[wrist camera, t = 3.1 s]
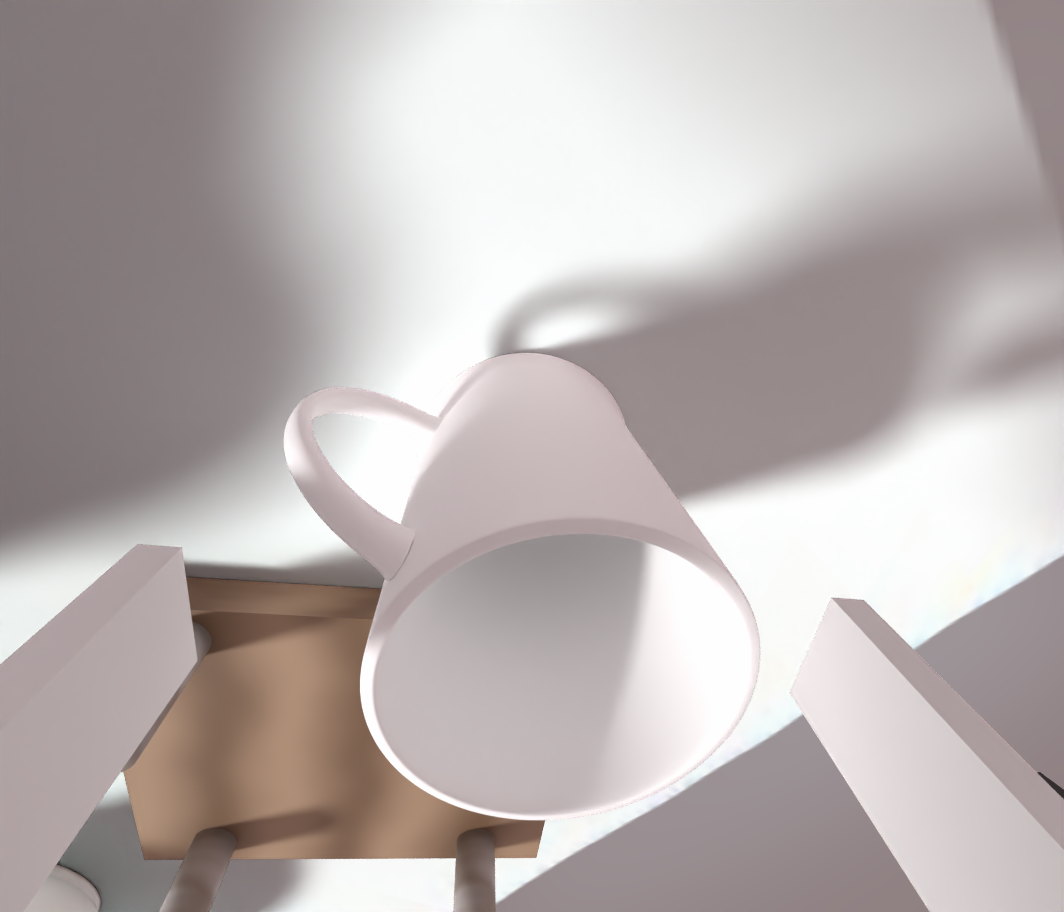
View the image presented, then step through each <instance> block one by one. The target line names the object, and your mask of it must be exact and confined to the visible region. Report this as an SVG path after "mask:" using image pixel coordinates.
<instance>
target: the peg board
mask: <svg viewBox="0 0 1064 912" xmlns="http://www.w3.org/2000/svg"><path fill="white" fill-rule="evenodd" d="M186 581H187V588H188V595H189V602H190V610H191V617H192V624H193V631H194V639H195V646H196V653H197V660H198V661H197V662H196V663H195V665H194V666H193V668H192V669H191V671H190V672H189V674H188V675H187V676H186V678H185V679H184V681H183V682H182V684H181V685H180V687H179V688H178V689H177V691H176V692H175V694H174V695H173V697H172V698H171V700H170V701H169V702H168V704H167V705H166V707H165V708H164V710H163V711H162V713H161V714H160V715H159V717H158V718H157V720H156V721H155V723H154V724H153V726H152V727H151V728H150V730H149V731H148V733H147V734H146V736H145V737H144V739H143V740H142V741H141V743H140V744H139V746H138V747H137V749H136V750H135V752H134V753H133V754H132V756H131V757H130V759H129V760H128V762H127V763H126V765H125V766H124V767H123V769H122V770H121V772H124V777H125V781H126V785H127V789H128V793H129V798H130V802H131V806H132V810H133V815H134V819H135V823H136V827H137V831H138V836H139V840H140V844H141V848H142V852H143V857H144V860H183V859H184V860H183V862H182V864H181V867H180V869H179V871H178V873H177V875H176V877H175V879H174V881H173V883H172V885H171V887H170V890H169V892H168V894H167V896H166V898H165V900H164V902H163V904H162V906H161V908H160V911H159V912H209V911H210V909H211V906H212V904H213V901H214V899H215V896H216V894H217V891H218V889H219V886H220V884H221V881H222V879H223V876H224V874H225V871H226V869H227V866H228V864H229V861H230V859H390V858H456V867H455V889H454V910H453V912H495V858H536V857H537V853H538V848H539V844H540V840H541V835H542V831H543V827H544V822H545V820H518V819H508V818H501V817H495V816H489V815H485V814H480V813H476V812H473V811H469V810H466V809H463V808H460V807H457V806H455V805H452V804H450V803H447V802H445V801H443V800H441V799H438V798H436V797H435V796H433V795H431V794H429V793H427V792H426V791H424V790H422V789H421V788H419V787H418V786H416V785H415V784H414V783H412V782H411V781H410V780H408V779H407V778H406V777H405V776H403V775H402V774H401V773H400V772H399V771H398V770H397V769H396V768H395V767H394V766H393V765H392V764H391V763H390V762H389V761H388V759H387V758H386V757H385V756H384V754H383V753H382V751H381V750H380V749H379V747H378V745H377V744H376V742H375V740H374V739H373V737H372V735H371V732H370V730H369V728H368V725H367V723H366V720H365V716H364V713H363V709H362V703H361V695H360V675H361V666H362V661H363V656H364V652H365V648H366V644H367V640H368V636H369V633H370V629H371V626H372V622H373V619H374V615H375V612H376V608H377V605H378V601H379V598H380V594H381V591H382V589H374V588H358V587H341V586H325V585H308V584H292V583H275V582H259V581H243V580H226V579H210V578H193V577H186Z"/></svg>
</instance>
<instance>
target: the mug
mask: <svg viewBox="0 0 1064 912" xmlns="http://www.w3.org/2000/svg"><path fill="white" fill-rule="evenodd" d="M334 413H341V414H352V415H358V416H363V417H367V418H371V419H374V420H377V421H380V422H383V423H386V424H389V425H391V426H394V427H396V428H398V429H400V430H402V431H404V432H406V433H408V434H410V435H411V436H413V437H414V438H416V439H417V440H418V449H417V459H418V464H417V468H416V471H415V475H414V478H413V482H412V486H411V489H410V493H409V496H408V500H407V503H406V507H405V510H404V514H403V517H402V521H401V524H399V523H397V522H395V521H393V520H391V519H389V518H388V517H386V516H384V515H383V514H381V513H380V512H378V511H377V510H376V509H374V508H373V507H372V506H370V505H369V504H368V503H367V502H365V501H364V500H363V499H362V498H361V497H360V496H359V495H357V494H356V493H355V492H354V491H353V490H352V489H351V488H350V487H349V486H348V485H347V484H346V483H345V482H344V481H343V480H342V478H341V477H340V476H339V475H338V474H337V473H336V472H335V470H334V469H333V468H332V466H331V465H330V464H329V462H328V461H327V460H326V458H325V457H324V455H323V453H322V452H321V450H320V448H319V446H318V444H317V442H316V439H315V436H314V433H313V428H312V420H313V419H314V418H316V417H318V416H321V415H326V414H334ZM284 451H285V456H286V460H287V464H288V467H289V469H290V472H291V474H292V476H293V478H294V480H295V482H296V484H297V486H298V488H299V489H300V491H301V493H302V494H303V496H304V497H305V499H306V500H307V501H308V503H309V504H310V506H311V507H312V508H313V509H314V511H315V512H316V513H317V514H318V515H319V517H320V518H321V519H322V520H323V521H324V522H325V523H326V524H327V525H328V526H329V528H330V529H331V530H332V531H333V532H334V533H335V534H337V535H338V536H339V537H340V538H341V539H342V540H343V541H344V542H345V543H346V544H347V545H349V546H350V547H351V548H352V549H353V550H355V551H356V552H357V553H358V554H359V555H361V556H362V557H363V558H364V559H366V560H367V561H368V562H369V563H370V564H371V565H373V566H374V567H375V568H376V569H377V570H378V571H379V572H380V573H381V575H382V576H383V577H384V579H385V580H384V584H383V587H382V591H381V594H380V598H379V601H378V605H377V608H376V612H375V615H374V619H373V622H372V626H371V629H370V633H369V636H368V640H367V644H366V648H365V652H364V656H363V661H362V666H361V675H360V695H361V703H362V709H363V713H364V716H365V720H366V723H367V725H368V728H369V730H370V732H371V735H372V737H373V739H374V740H375V742H376V744H377V745H378V747H379V749H380V750H381V751H382V753H383V754H384V756H385V757H386V758H387V759H388V761H389V762H390V763H391V764H392V765H393V766H394V767H395V768H396V769H397V770H398V771H399V772H400V773H401V774H402V775H403V776H405V777H406V778H407V779H408V780H410V781H411V782H412V783H414V784H415V785H416V786H418V787H419V788H421V789H422V790H424V791H426V792H427V793H429V794H431V795H433V796H435V797H436V798H438V799H441V800H443V801H445V802H447V803H450V804H452V805H455V806H457V807H460V808H463V809H466V810H469V811H473V812H476V813H480V814H485V815H489V816H495V817H501V818H508V819H518V820H558V819H569V818H576V817H583V816H588V815H593V814H598V813H602V812H606V811H610V810H613V809H617V808H620V807H623V806H626V805H629V804H632V803H634V802H637V801H639V800H642V799H644V798H646V797H649V796H651V795H653V794H655V793H657V792H659V791H661V790H663V789H665V788H667V787H668V786H670V785H672V784H674V783H675V782H677V781H678V780H680V779H682V778H683V777H685V776H686V775H687V774H689V773H690V772H692V771H693V770H694V769H696V768H697V767H698V766H699V765H701V764H702V763H703V762H704V761H705V760H706V759H708V758H709V757H710V756H711V755H712V754H713V753H714V752H715V751H716V750H717V749H718V748H719V747H720V746H721V745H722V744H723V742H724V741H725V740H726V739H727V738H728V736H729V735H730V734H731V733H732V731H733V730H734V728H735V727H736V726H737V724H738V723H739V721H740V719H741V718H742V716H743V714H744V712H745V710H746V708H747V706H748V704H749V702H750V700H751V697H752V695H753V692H754V689H755V685H756V682H757V677H758V672H759V665H760V640H759V633H758V628H757V624H756V620H755V617H754V614H753V611H752V609H751V607H750V604H749V602H748V600H747V598H746V596H745V595H744V593H743V591H742V590H741V588H740V586H739V585H738V583H737V582H736V580H735V579H734V577H733V576H732V575H731V573H730V572H729V570H728V569H727V567H726V566H725V565H724V563H723V562H722V560H721V559H720V558H719V556H718V555H717V553H716V552H715V551H714V549H713V548H712V546H711V545H710V544H709V542H708V541H707V539H706V538H705V537H704V535H703V534H702V532H701V531H700V530H699V528H698V527H697V525H696V524H695V523H694V521H693V520H692V518H691V517H690V516H689V514H688V513H687V511H686V510H685V509H684V507H683V506H682V504H681V503H680V501H679V500H678V499H677V497H676V496H675V494H674V493H673V492H672V490H671V489H670V487H669V486H668V485H667V483H666V482H665V480H664V479H663V478H662V476H661V475H660V473H659V472H658V471H657V469H656V468H655V466H654V465H653V464H652V462H651V461H650V459H649V458H648V457H647V455H646V454H645V452H644V451H643V450H642V448H641V447H640V445H639V444H638V443H637V441H636V440H635V438H634V437H633V436H632V434H631V433H630V431H629V430H628V428H627V427H626V423H625V420H624V417H623V415H622V412H621V410H620V408H619V406H618V404H617V402H616V401H615V399H614V398H613V396H612V395H611V393H610V392H609V391H608V390H607V389H606V387H605V386H604V385H603V384H602V383H601V382H600V381H599V380H598V379H597V378H595V377H594V376H593V375H592V374H590V373H589V372H587V371H586V370H584V369H583V368H581V367H579V366H578V365H576V364H574V363H571V362H569V361H567V360H564V359H561V358H558V357H554V356H550V355H545V354H538V353H514V354H507V355H502V356H497V357H494V358H490V359H488V360H485V361H482V362H480V363H478V364H476V365H474V366H472V367H470V368H468V369H467V370H465V371H463V372H462V373H461V374H459V375H458V376H456V377H455V378H454V379H453V380H452V381H451V382H449V383H448V384H447V385H446V386H445V387H444V388H443V390H442V391H441V392H440V393H439V394H438V396H437V397H436V398H435V400H434V401H433V403H432V404H431V406H430V408H429V410H428V412H427V413H426V412H424V411H421V410H419V409H417V408H415V407H413V406H411V405H409V404H406V403H404V402H402V401H399V400H397V399H394V398H391V397H388V396H385V395H382V394H379V393H375V392H372V391H367V390H363V389H357V388H348V387H334V388H326V389H322V390H319V391H316V392H314V393H312V394H310V395H308V396H307V397H306V398H304V399H303V400H302V401H301V402H300V403H299V404H298V405H297V406H296V408H295V409H294V410H293V412H292V414H291V415H290V417H289V419H288V422H287V425H286V428H285V433H284Z"/></svg>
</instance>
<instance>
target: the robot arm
mask: <svg viewBox="0 0 1064 912" xmlns="http://www.w3.org/2000/svg"><path fill="white" fill-rule="evenodd" d="M197 661H198V660H197V653H196V646H195V639H194V631H193V624H192V617H191V610H190V602H189V595H188V588H187V581H186V573H185V566H184V559H183V552H182V547H169V546H156V545H143V544H137V545H136V546H135V547H134V548H133V549H132V550H130V551H129V552H128V553H127V554H126V555H125V556H124V557H122V558H121V559H120V560H119V561H118V562H117V563H116V564H114V565H113V566H112V567H111V568H110V569H109V570H108V571H107V572H105V573H104V574H103V575H102V576H101V577H100V578H99V579H97V580H96V581H95V582H94V583H93V584H92V585H91V586H89V587H88V588H87V589H86V590H85V591H84V592H83V593H81V594H80V595H79V596H78V597H77V598H76V599H75V600H73V601H72V602H71V603H70V604H69V605H68V606H67V607H65V608H64V609H63V610H62V611H61V612H60V613H59V614H57V615H56V616H55V617H54V618H53V619H52V620H51V621H49V622H48V623H47V624H46V625H45V626H44V627H43V628H41V629H40V630H39V631H38V632H37V633H36V634H35V635H33V636H32V637H31V638H30V639H29V640H28V641H27V642H25V643H24V644H23V645H22V646H21V647H20V648H19V649H17V650H16V651H15V652H14V653H13V654H12V655H11V656H9V657H8V658H7V659H6V660H5V661H4V662H3V663H1V664H0V912H24V910H25V909H26V908H27V906H28V905H29V903H30V902H31V900H32V899H33V897H34V896H35V895H36V893H37V892H38V890H39V889H40V887H41V886H42V884H43V883H44V882H45V880H46V879H47V877H48V876H49V874H50V873H51V871H52V870H53V869H54V867H55V866H56V864H57V863H58V861H59V860H60V858H61V857H62V856H63V854H64V853H65V851H66V850H67V848H68V847H69V845H70V844H71V843H72V841H73V840H74V838H75V837H76V835H77V834H78V832H79V831H80V830H81V828H82V827H83V825H84V824H85V822H86V821H87V819H88V818H89V817H90V815H91V814H92V812H93V811H94V809H95V808H96V806H97V805H98V804H99V802H100V801H101V799H102V798H103V796H104V795H105V793H106V792H107V791H108V789H109V788H110V786H111V785H112V783H113V782H114V780H115V779H116V778H117V776H118V775H119V773H120V772H121V770H122V769H123V767H124V766H125V765H126V763H127V762H128V760H129V759H130V757H131V756H132V754H133V753H134V752H135V750H136V749H137V747H138V746H139V744H140V743H141V741H142V740H143V739H144V737H145V736H146V734H147V733H148V731H149V730H150V728H151V727H152V726H153V724H154V723H155V721H156V720H157V718H158V717H159V715H160V714H161V713H162V711H163V710H164V708H165V707H166V705H167V704H168V702H169V701H170V700H171V698H172V697H173V695H174V694H175V692H176V691H177V689H178V688H179V687H180V685H181V684H182V682H183V681H184V679H185V678H186V676H187V675H188V674H189V672H190V671H191V669H192V668H193V666H194V665H195V663H196V662H197ZM789 693H790V694H791V696H792V697H793V699H794V700H795V702H796V704H797V705H798V707H799V708H800V710H801V711H802V713H803V714H804V716H805V718H806V719H807V721H808V722H809V724H810V725H811V727H812V729H813V730H814V732H815V733H816V735H817V736H818V738H819V739H820V741H821V743H822V744H823V746H824V747H825V749H826V750H827V752H828V754H829V755H830V757H831V758H832V760H833V761H834V763H835V764H836V766H837V768H838V769H839V771H840V772H841V774H842V775H843V777H844V779H845V780H846V782H847V783H848V785H849V786H850V788H851V789H852V791H853V792H854V794H855V796H856V797H857V799H858V800H859V802H860V804H861V805H862V807H863V808H864V810H865V811H866V813H867V814H868V816H869V817H870V819H871V821H872V822H873V824H874V825H875V827H876V828H877V830H878V831H879V833H880V835H881V836H882V838H883V839H884V841H885V843H886V844H887V845H888V847H889V849H890V850H891V852H892V853H893V855H894V857H895V858H896V860H897V861H898V863H899V864H900V866H901V867H902V869H903V871H904V872H905V874H906V875H907V877H908V878H909V880H910V881H911V883H912V885H913V886H914V888H915V889H916V891H917V893H918V894H919V896H920V897H921V899H922V900H923V902H924V903H925V905H926V907H927V908H928V910H929V911H930V912H1064V790H1063V789H1062V788H1060V787H1059V786H1058V785H1057V784H1055V783H1054V782H1053V781H1051V780H1050V779H1048V778H1047V777H1046V776H1044V775H1043V774H1042V773H1040V772H1036V771H1035V770H1034V769H1033V768H1032V767H1031V766H1030V765H1029V764H1028V763H1027V762H1026V761H1024V759H1023V758H1022V757H1021V756H1020V755H1019V754H1018V753H1017V752H1015V750H1014V749H1013V748H1012V747H1011V746H1010V745H1008V743H1007V742H1006V741H1005V740H1004V739H1003V738H1002V737H1001V736H999V734H998V733H997V732H995V730H993V728H992V727H991V726H989V724H988V723H986V722H985V720H984V719H983V718H982V717H981V716H980V715H979V714H978V713H977V712H976V711H974V710H973V708H971V707H970V706H969V704H968V703H967V702H966V701H964V700H963V699H962V697H960V696H959V694H958V693H956V692H955V690H954V689H953V688H952V687H951V686H949V685H948V684H947V683H946V682H945V681H944V680H943V679H942V678H941V677H940V676H939V675H938V674H937V673H936V672H935V671H934V670H933V669H932V668H931V667H930V666H929V665H928V664H927V663H926V662H925V661H924V660H923V659H922V658H921V657H920V656H919V655H918V654H917V653H916V652H915V651H914V650H913V649H912V648H911V647H910V646H909V645H908V644H907V643H906V642H905V641H904V640H903V639H902V638H901V637H900V636H899V635H898V634H897V633H896V632H895V631H894V630H893V629H892V628H891V627H890V626H889V625H888V624H887V623H886V622H885V621H884V620H883V619H882V618H881V617H880V616H879V615H878V614H877V613H876V612H875V611H874V610H873V609H872V608H871V607H870V606H869V605H868V604H867V603H866V602H865V601H864V600H856V599H843V598H831V599H830V602H829V604H828V606H827V608H826V611H825V613H824V615H823V618H822V620H821V622H820V624H819V627H818V629H817V631H816V633H815V636H814V638H813V640H812V642H811V645H810V647H809V649H808V651H807V654H806V656H805V658H804V661H803V663H802V665H801V667H800V670H799V672H798V674H797V676H796V679H795V681H794V683H793V685H792V688H791V690H790V692H789Z"/></svg>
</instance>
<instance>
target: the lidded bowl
mask: <svg viewBox="0 0 1064 912" xmlns="http://www.w3.org/2000/svg"><path fill="white" fill-rule="evenodd" d="M100 905H101V899H100V896H99V893H98V891H97V890H96V888H95V887H94V886H93V885H92V884H91V882H89V881H88V880H87V879H86V878H84V877H83V876H81V875H80V874H78V873H76V872H74V871H72V870H70V869H68V868H66V867H63V866H60V865H57V864H56V866H55V867H54V869H53V870H52V871H51V873H50V874H49V876H48V877H47V879H46V880H45V882H44V883H43V884H42V886H41V887H40V889H39V890H38V892H37V893H36V895H35V896H34V897H33V899H32V900H31V902H30V903H29V905H28V906H27V908H26V909H25V910H24V912H98V911H99V909H100Z"/></svg>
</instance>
